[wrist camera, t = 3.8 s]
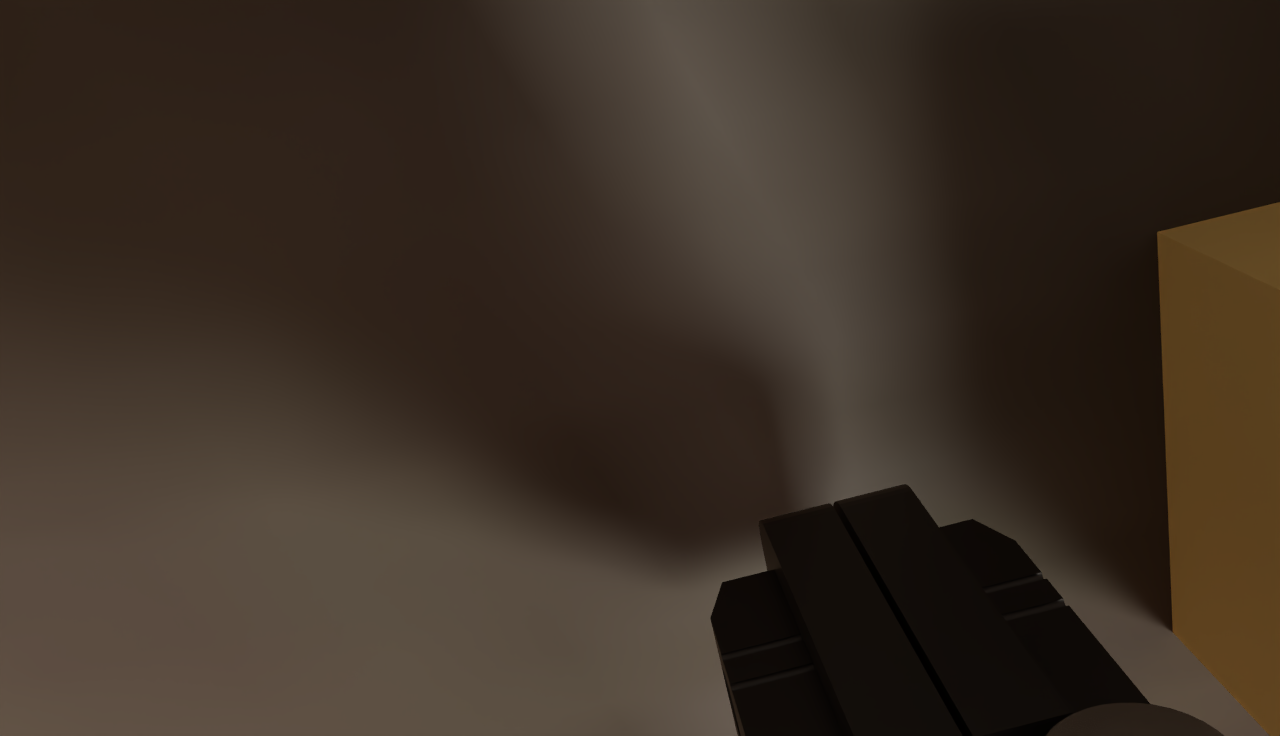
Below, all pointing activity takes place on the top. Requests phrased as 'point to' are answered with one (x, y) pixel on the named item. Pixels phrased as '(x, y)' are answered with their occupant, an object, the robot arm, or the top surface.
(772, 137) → the top surface
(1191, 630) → the block
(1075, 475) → the top surface
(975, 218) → the top surface
